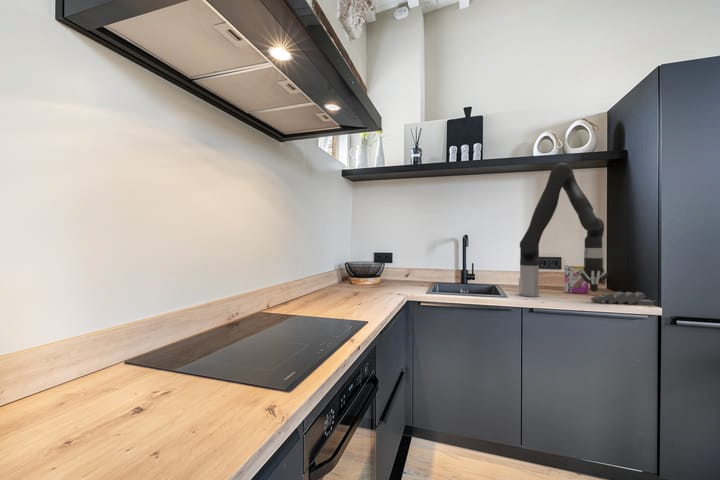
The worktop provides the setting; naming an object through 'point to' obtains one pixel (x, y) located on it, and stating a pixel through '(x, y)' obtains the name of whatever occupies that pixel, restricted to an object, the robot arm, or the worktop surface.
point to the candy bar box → (574, 280)
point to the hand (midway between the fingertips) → (593, 291)
